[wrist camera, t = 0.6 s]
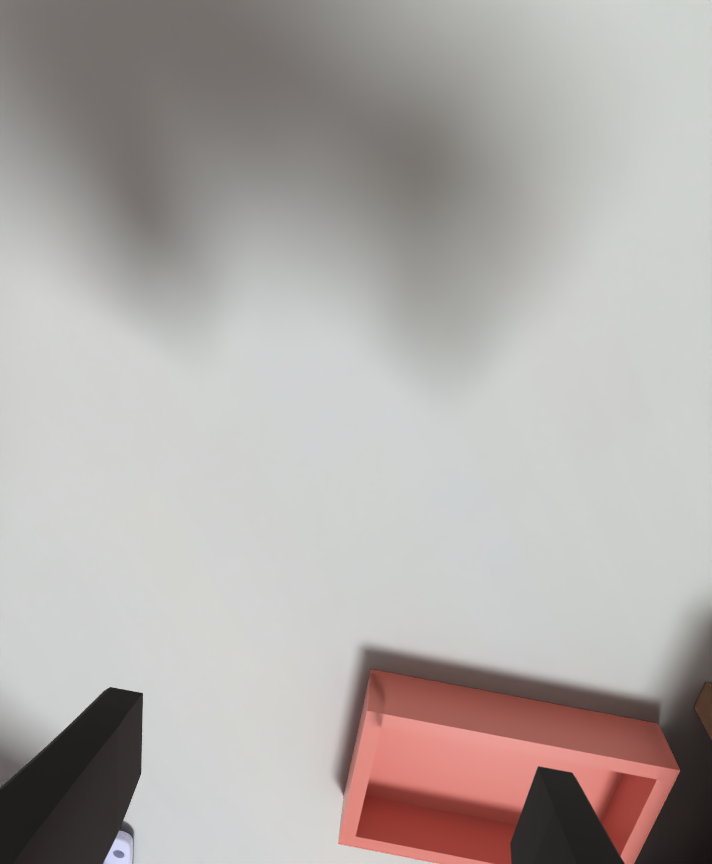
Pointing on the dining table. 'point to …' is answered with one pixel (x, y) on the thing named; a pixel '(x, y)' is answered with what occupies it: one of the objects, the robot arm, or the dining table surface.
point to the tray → (489, 770)
